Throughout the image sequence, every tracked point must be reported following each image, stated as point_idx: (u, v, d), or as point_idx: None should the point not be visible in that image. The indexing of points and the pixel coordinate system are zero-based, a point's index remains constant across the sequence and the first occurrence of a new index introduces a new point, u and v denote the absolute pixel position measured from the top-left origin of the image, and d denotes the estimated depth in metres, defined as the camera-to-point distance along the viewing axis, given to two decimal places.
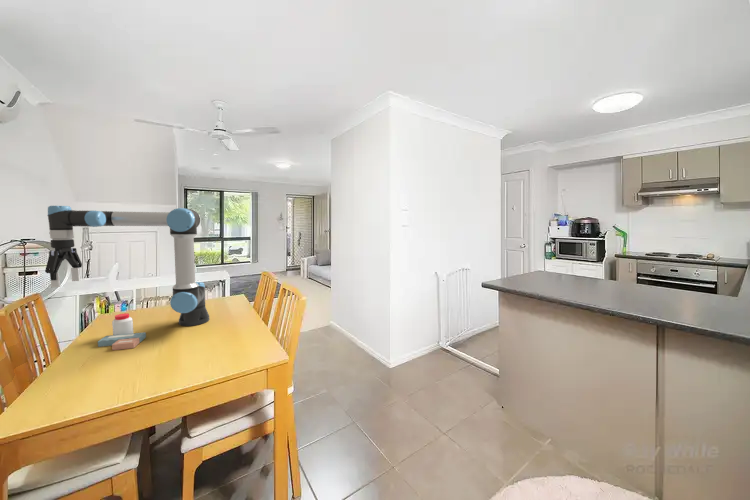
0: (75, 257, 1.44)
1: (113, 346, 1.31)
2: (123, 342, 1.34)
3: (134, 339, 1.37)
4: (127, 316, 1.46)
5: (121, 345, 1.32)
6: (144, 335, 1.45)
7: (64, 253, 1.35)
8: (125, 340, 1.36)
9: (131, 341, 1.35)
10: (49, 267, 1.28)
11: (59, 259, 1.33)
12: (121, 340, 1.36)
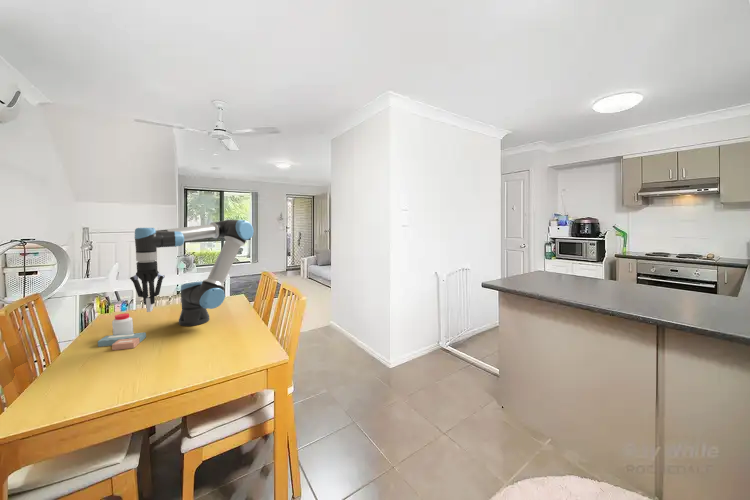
0: None
1: (113, 346, 1.31)
2: (123, 342, 1.34)
3: (134, 339, 1.37)
4: (127, 316, 1.46)
5: (121, 345, 1.32)
6: (144, 335, 1.45)
7: None
8: (125, 340, 1.36)
9: (131, 341, 1.35)
10: None
11: None
12: (121, 340, 1.36)
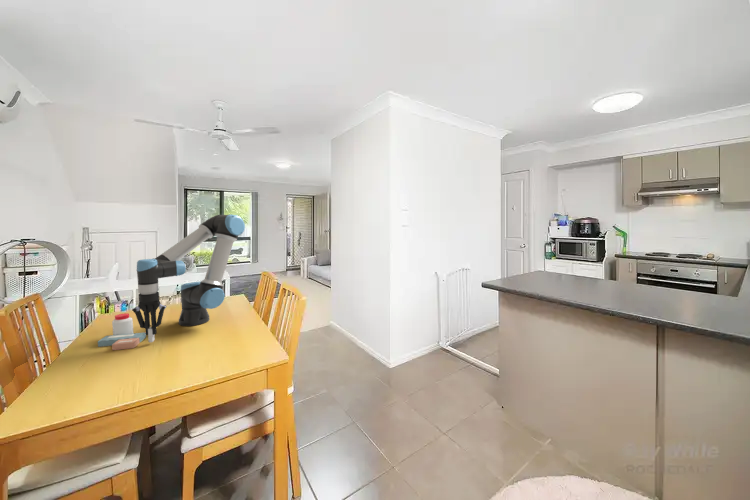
0: None
1: (113, 346, 1.31)
2: (123, 342, 1.34)
3: (134, 339, 1.37)
4: (127, 316, 1.46)
5: (121, 345, 1.32)
6: (144, 335, 1.45)
7: None
8: (125, 340, 1.36)
9: (131, 341, 1.35)
10: None
11: None
12: (121, 340, 1.36)
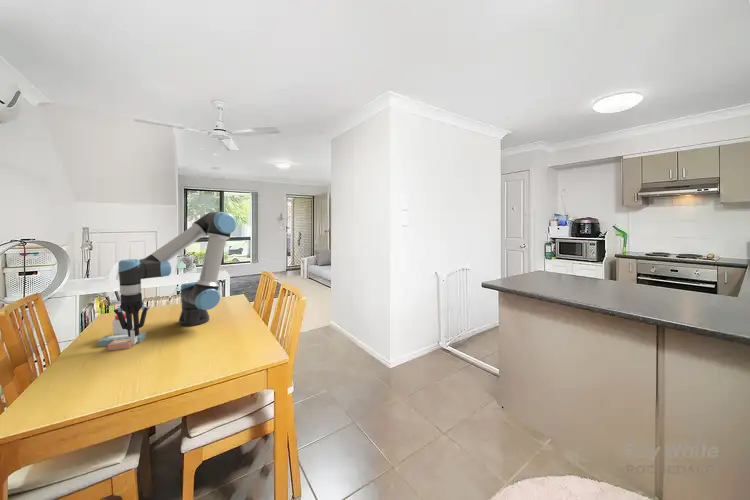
0: None
1: (109, 346, 1.31)
2: (119, 342, 1.33)
3: (130, 339, 1.37)
4: None
5: (117, 345, 1.32)
6: (144, 335, 1.45)
7: None
8: (121, 340, 1.35)
9: (127, 341, 1.34)
10: None
11: None
12: (117, 340, 1.35)
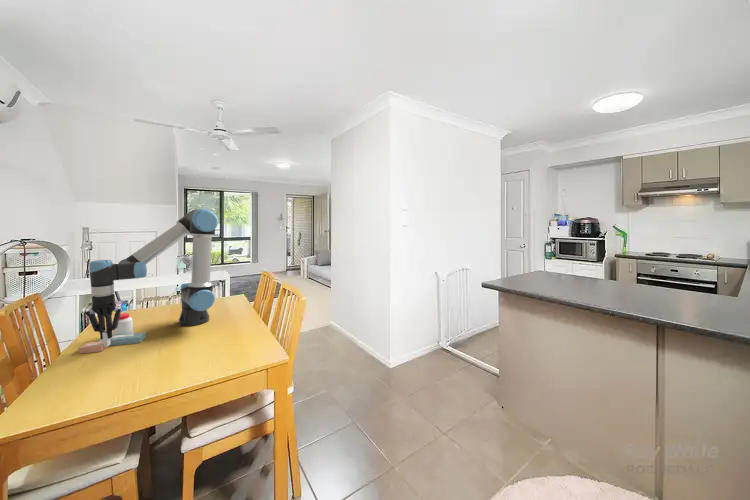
0: None
1: (80, 349, 1.28)
2: (91, 345, 1.30)
3: None
4: (127, 316, 1.46)
5: (88, 348, 1.28)
6: (144, 335, 1.45)
7: None
8: (93, 343, 1.32)
9: (99, 344, 1.31)
10: None
11: None
12: (89, 343, 1.32)
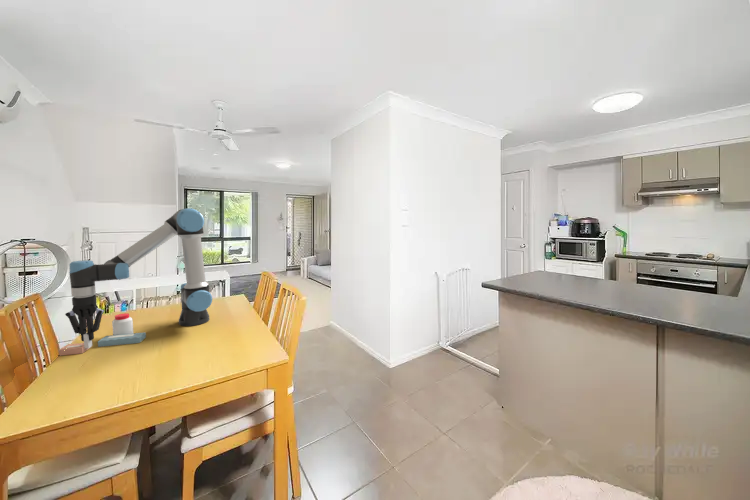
0: None
1: (60, 351, 1.25)
2: (71, 347, 1.28)
3: None
4: (127, 316, 1.46)
5: (68, 350, 1.26)
6: (144, 335, 1.45)
7: None
8: (74, 345, 1.30)
9: (80, 346, 1.29)
10: None
11: None
12: (70, 345, 1.30)
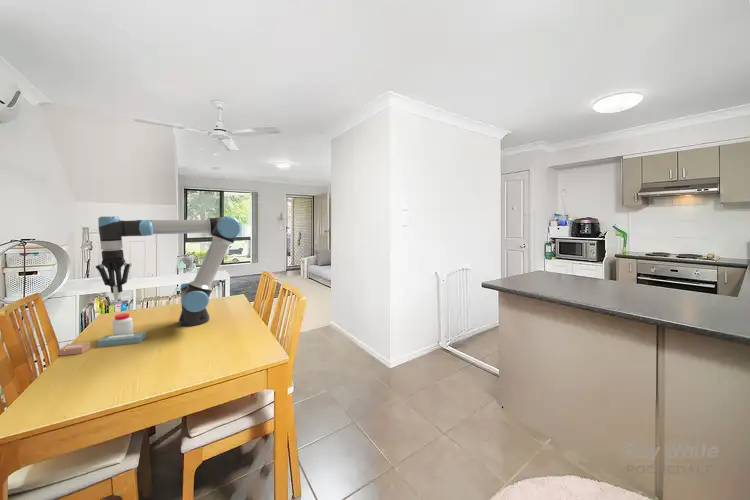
0: None
1: (59, 351, 1.25)
2: (71, 347, 1.28)
3: (84, 344, 1.31)
4: (127, 316, 1.46)
5: (68, 350, 1.26)
6: (144, 335, 1.45)
7: (107, 265, 1.34)
8: (74, 345, 1.30)
9: (80, 346, 1.29)
10: None
11: None
12: (70, 345, 1.30)
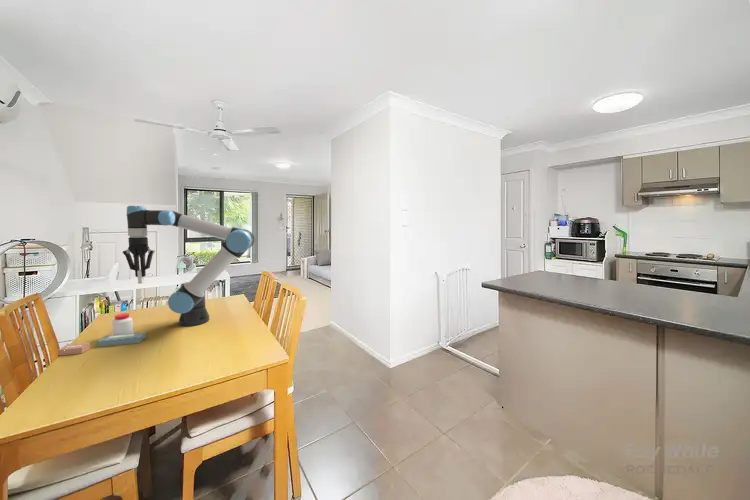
0: None
1: (59, 351, 1.25)
2: (71, 347, 1.28)
3: (84, 344, 1.31)
4: (127, 316, 1.46)
5: (68, 350, 1.26)
6: (144, 335, 1.45)
7: (133, 250, 1.45)
8: (74, 345, 1.30)
9: (80, 346, 1.29)
10: None
11: None
12: (70, 345, 1.30)
